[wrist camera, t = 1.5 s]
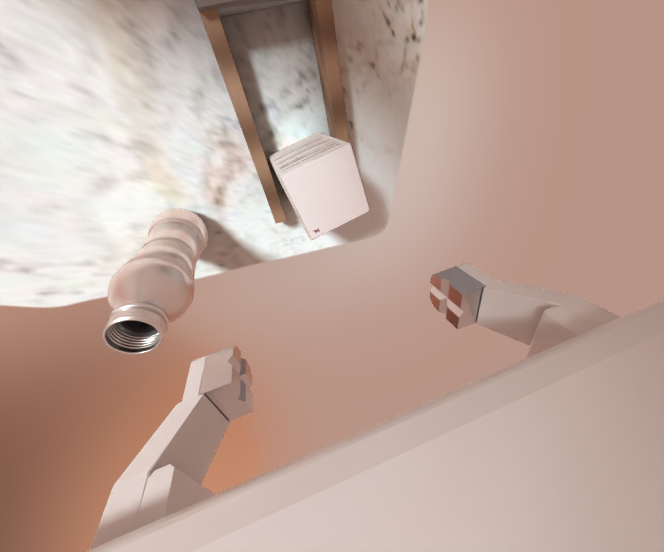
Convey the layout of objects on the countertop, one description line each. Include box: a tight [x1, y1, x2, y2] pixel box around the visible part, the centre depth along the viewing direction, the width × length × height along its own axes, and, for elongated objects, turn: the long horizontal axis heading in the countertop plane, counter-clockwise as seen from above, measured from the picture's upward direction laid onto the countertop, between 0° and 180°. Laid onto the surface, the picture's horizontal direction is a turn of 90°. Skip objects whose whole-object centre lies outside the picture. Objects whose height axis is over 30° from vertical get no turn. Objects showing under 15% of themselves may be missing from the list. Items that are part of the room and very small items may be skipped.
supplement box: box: [268, 132, 369, 240], centre depth 29 cm, size 7×7×13 cm
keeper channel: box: [195, 0, 349, 223], centre depth 28 cm, size 22×12×4 cm, turn 11°
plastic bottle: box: [102, 209, 208, 354], centre depth 26 cm, size 6×7×20 cm
